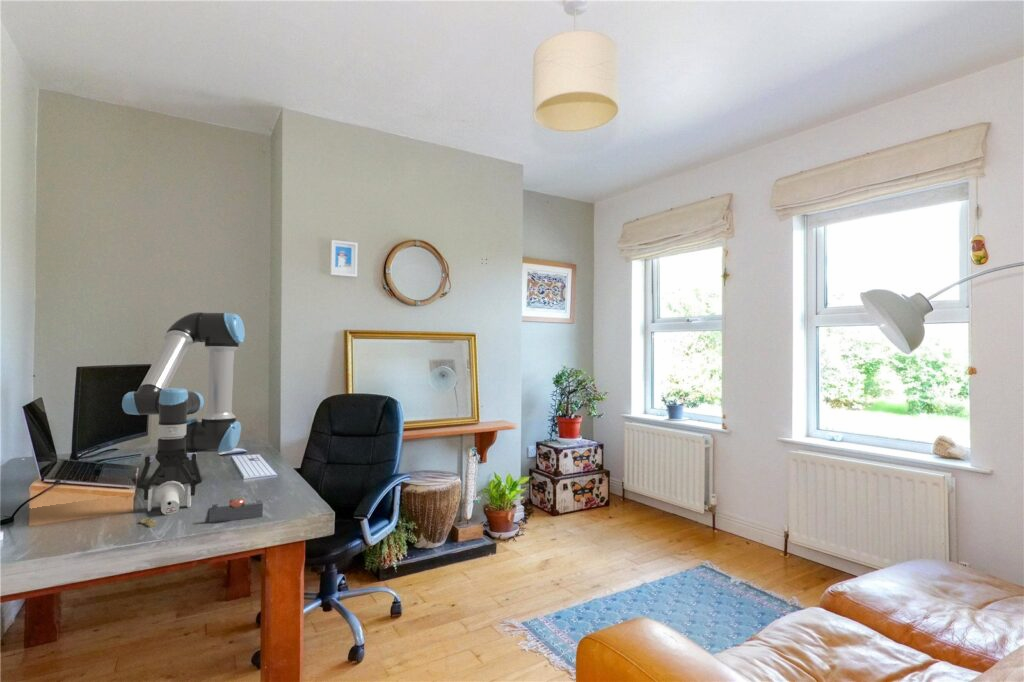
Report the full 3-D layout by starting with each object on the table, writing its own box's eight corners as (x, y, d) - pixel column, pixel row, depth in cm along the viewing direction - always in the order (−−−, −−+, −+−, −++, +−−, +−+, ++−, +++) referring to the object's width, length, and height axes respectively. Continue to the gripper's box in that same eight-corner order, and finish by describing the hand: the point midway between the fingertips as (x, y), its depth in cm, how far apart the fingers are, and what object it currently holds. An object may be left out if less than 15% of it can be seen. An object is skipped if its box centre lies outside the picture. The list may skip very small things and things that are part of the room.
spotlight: (186, 499, 169) (182, 476, 167) (188, 515, 160) (183, 492, 158) (157, 507, 165) (152, 484, 163) (157, 524, 156) (151, 500, 154)
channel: (212, 508, 164) (213, 490, 164) (261, 503, 170) (261, 486, 170) (208, 524, 150) (209, 504, 150) (262, 518, 156) (263, 499, 156)
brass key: (139, 522, 150) (139, 519, 150) (150, 520, 152) (150, 517, 152) (147, 527, 146) (147, 524, 146) (158, 525, 148) (159, 522, 148)
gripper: (126, 441, 155) (123, 515, 155) (212, 437, 165) (209, 507, 165) (131, 437, 162) (128, 508, 161) (213, 433, 172) (211, 500, 171)
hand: (169, 507), depth 163 cm, fingers open, 10 cm apart
